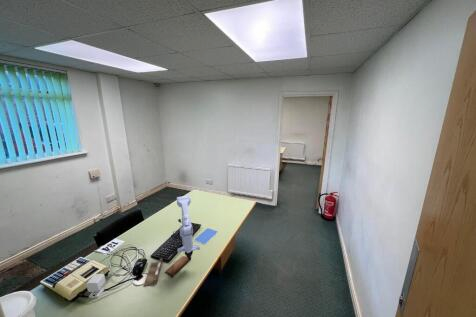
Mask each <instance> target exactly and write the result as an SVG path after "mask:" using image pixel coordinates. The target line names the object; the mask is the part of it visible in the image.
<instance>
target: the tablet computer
mask: <svg viewBox="0 0 476 317" xmlns="http://www.w3.org/2000/svg"><path fill="white" fill-rule="evenodd" d="M217 234H219V231H218V230H214V229H212V228H209V227H207V228H206V229H205V230H203V232H201V233H200V234H199V235H197V236H196V237H195V238H194V239H193V242H195V243H196V242H197V243H199V244H201V245H203V246H205V245H207V244H208V243H209V242H210V241H211V240H212V239H213V238H214V237H216V236H217Z"/></svg>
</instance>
